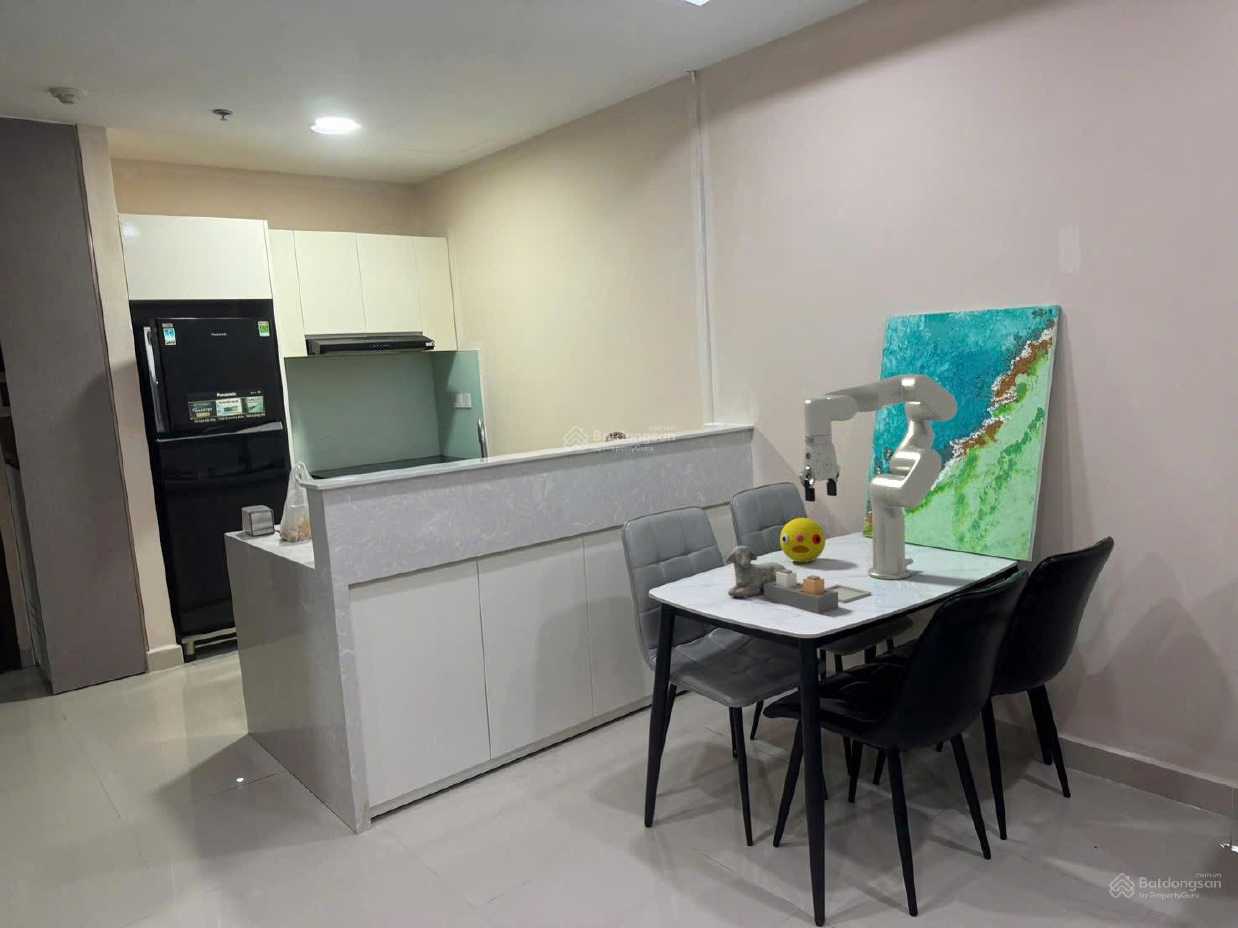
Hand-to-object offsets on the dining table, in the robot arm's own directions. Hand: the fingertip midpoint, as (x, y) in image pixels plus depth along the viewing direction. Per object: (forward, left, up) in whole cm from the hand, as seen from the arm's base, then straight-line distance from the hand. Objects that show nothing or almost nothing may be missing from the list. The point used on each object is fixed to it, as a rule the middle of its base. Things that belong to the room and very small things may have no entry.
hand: (821, 498), depth 240 cm
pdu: (+17, +7, -27) cm, 33 cm away
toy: (-20, -26, -27) cm, 43 cm away
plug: (+17, +12, -26) cm, 33 cm away
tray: (+3, +9, -27) cm, 29 cm away
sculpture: (+16, -10, -28) cm, 33 cm away
